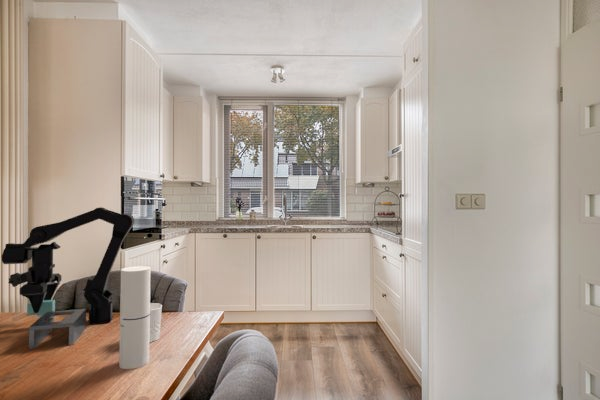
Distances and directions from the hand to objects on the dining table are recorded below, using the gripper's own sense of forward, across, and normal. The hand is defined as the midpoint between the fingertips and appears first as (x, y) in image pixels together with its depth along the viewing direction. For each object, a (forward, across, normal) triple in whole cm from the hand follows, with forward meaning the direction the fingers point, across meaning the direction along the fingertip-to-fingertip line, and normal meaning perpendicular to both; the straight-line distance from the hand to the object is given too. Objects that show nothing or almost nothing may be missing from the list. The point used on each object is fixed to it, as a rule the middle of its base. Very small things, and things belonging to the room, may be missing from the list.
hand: (41, 308), depth 115 cm
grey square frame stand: (+6, +13, +9) cm, 17 cm away
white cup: (+6, +22, +35) cm, 42 cm away
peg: (+6, 0, 0) cm, 6 cm away
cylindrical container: (+6, +38, +33) cm, 51 cm away
